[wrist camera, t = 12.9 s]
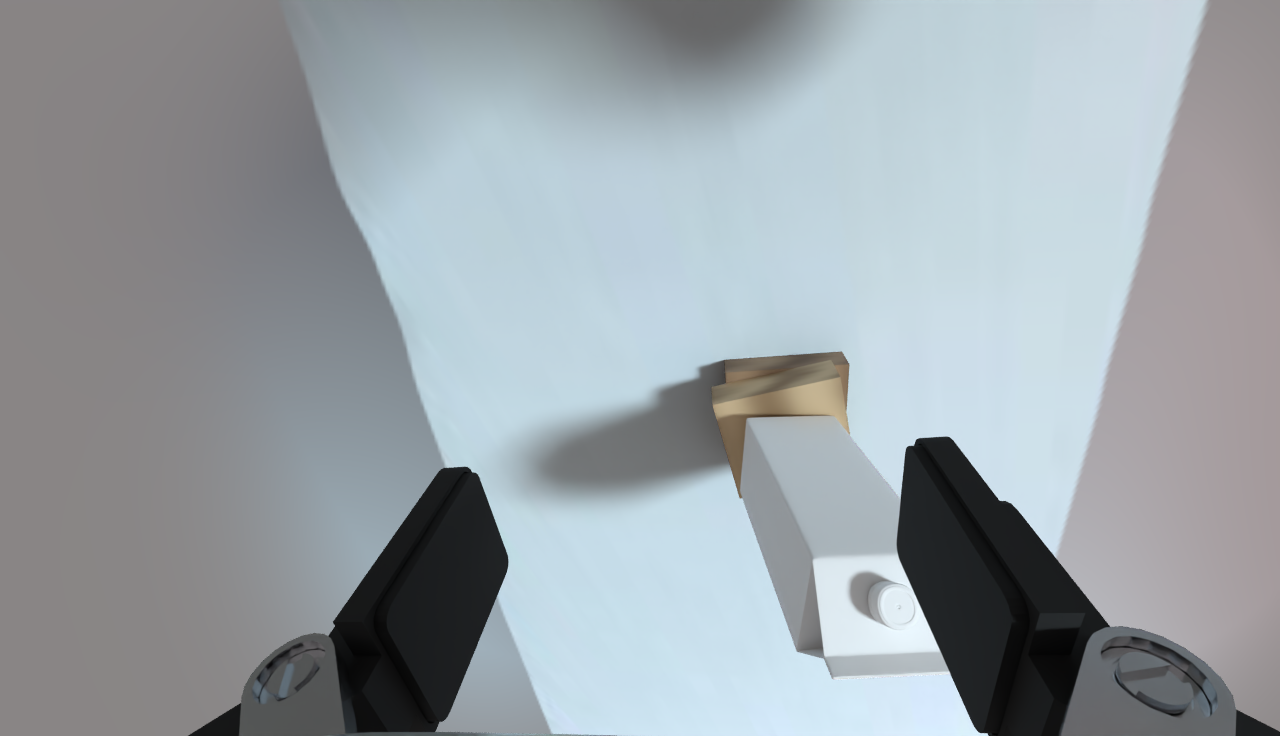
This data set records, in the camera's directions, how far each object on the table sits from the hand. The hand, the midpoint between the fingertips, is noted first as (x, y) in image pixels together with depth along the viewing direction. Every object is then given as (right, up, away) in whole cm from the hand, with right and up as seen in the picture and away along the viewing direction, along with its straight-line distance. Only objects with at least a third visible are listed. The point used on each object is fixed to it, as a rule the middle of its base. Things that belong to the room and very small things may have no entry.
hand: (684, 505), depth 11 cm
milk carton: (+11, -4, +31) cm, 33 cm away
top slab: (+11, -2, +33) cm, 35 cm away
